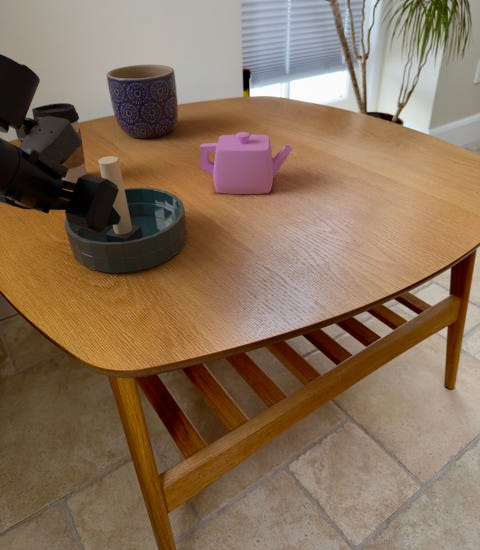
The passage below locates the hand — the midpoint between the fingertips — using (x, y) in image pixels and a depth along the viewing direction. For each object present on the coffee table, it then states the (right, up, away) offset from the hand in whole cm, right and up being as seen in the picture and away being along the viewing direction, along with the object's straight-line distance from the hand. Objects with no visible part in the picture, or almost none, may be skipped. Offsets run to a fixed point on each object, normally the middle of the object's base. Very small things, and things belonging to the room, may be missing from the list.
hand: (94, 213), depth 62 cm
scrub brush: (+2, -4, +8) cm, 9 cm away
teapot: (+22, +9, +26) cm, 35 cm away
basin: (+3, -4, +9) cm, 10 cm away
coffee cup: (-15, +11, +30) cm, 35 cm away
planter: (-3, +29, +53) cm, 60 cm away
